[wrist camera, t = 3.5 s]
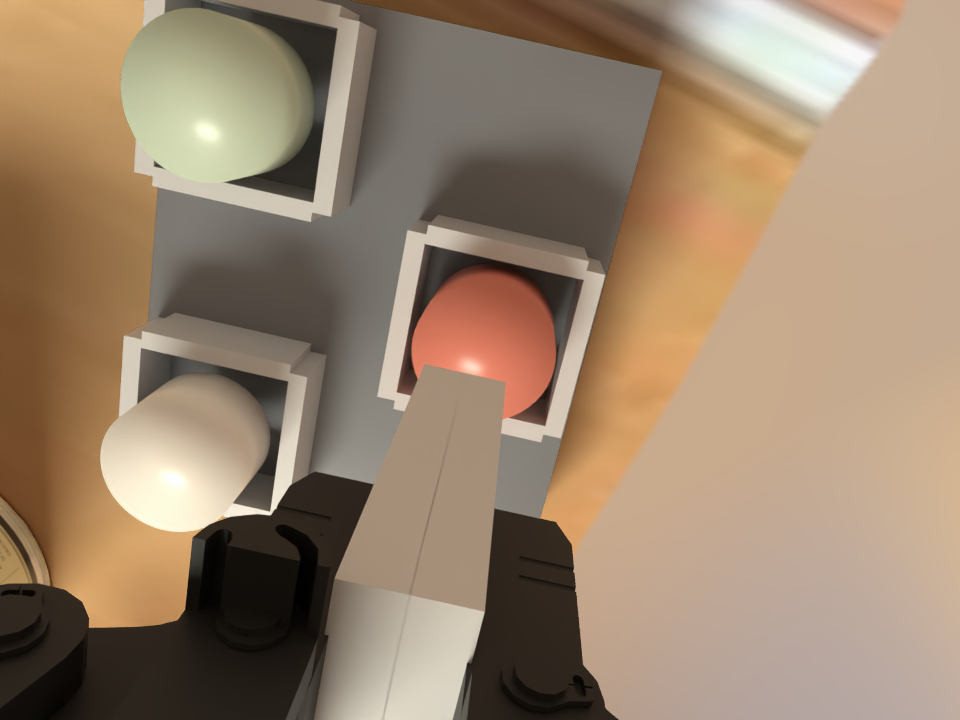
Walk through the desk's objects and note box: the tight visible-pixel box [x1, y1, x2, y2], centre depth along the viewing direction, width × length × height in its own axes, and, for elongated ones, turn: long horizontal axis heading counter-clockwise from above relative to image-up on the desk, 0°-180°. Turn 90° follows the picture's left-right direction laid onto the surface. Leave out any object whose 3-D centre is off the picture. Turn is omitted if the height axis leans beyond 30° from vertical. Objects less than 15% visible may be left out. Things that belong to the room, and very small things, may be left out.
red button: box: [412, 263, 556, 419], centre depth 20 cm, size 4×4×2 cm
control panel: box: [119, 0, 662, 518], centre depth 23 cm, size 13×15×5 cm
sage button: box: [121, 8, 315, 183], centre depth 18 cm, size 4×4×2 cm
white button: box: [100, 372, 270, 532], centre depth 21 cm, size 4×4×2 cm
